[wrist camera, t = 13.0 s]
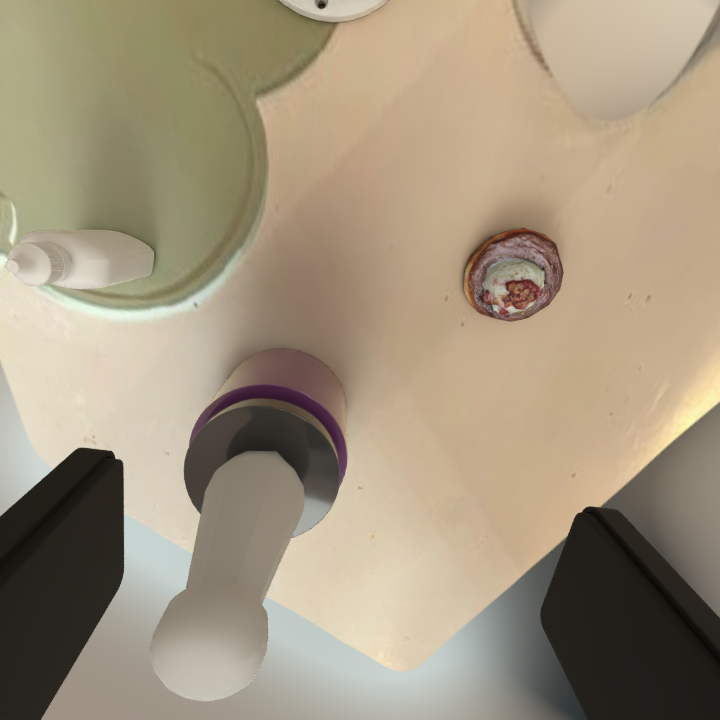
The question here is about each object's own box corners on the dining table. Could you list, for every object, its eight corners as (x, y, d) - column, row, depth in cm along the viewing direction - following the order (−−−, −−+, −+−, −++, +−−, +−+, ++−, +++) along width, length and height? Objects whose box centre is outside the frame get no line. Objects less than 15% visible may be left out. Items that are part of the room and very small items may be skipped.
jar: (198, 419, 39) (142, 493, 28) (268, 323, 37) (237, 363, 26) (298, 483, 42) (283, 575, 31) (370, 396, 39) (382, 462, 28)
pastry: (453, 313, 37) (470, 325, 33) (472, 221, 35) (492, 220, 31) (543, 324, 38) (572, 338, 33) (567, 235, 36) (601, 236, 31)
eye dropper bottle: (132, 298, 36) (34, 331, 25) (73, 248, 35) (-59, 259, 23) (165, 259, 35) (81, 274, 24) (106, 207, 34) (-14, 196, 22)
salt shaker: (284, 528, 30) (241, 748, 17) (203, 495, 29) (96, 702, 16) (323, 459, 28) (308, 642, 16) (239, 422, 27) (153, 586, 15)
